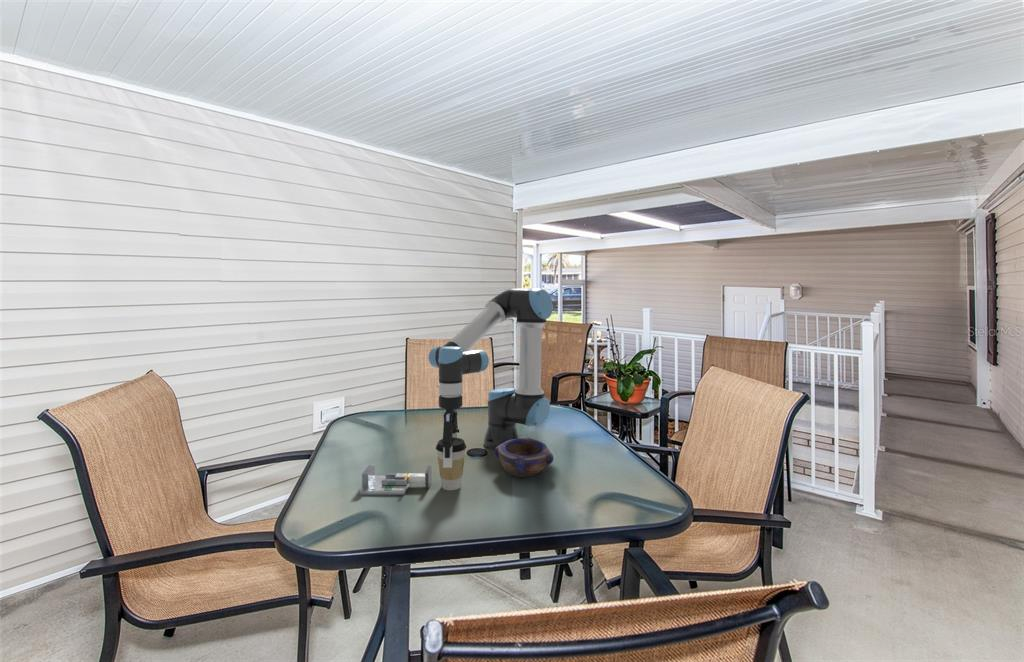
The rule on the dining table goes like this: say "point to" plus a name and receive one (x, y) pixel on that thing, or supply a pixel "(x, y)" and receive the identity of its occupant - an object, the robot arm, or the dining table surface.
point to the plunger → (417, 477)
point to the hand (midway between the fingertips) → (450, 459)
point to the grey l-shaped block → (382, 484)
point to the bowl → (523, 456)
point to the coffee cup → (453, 475)
